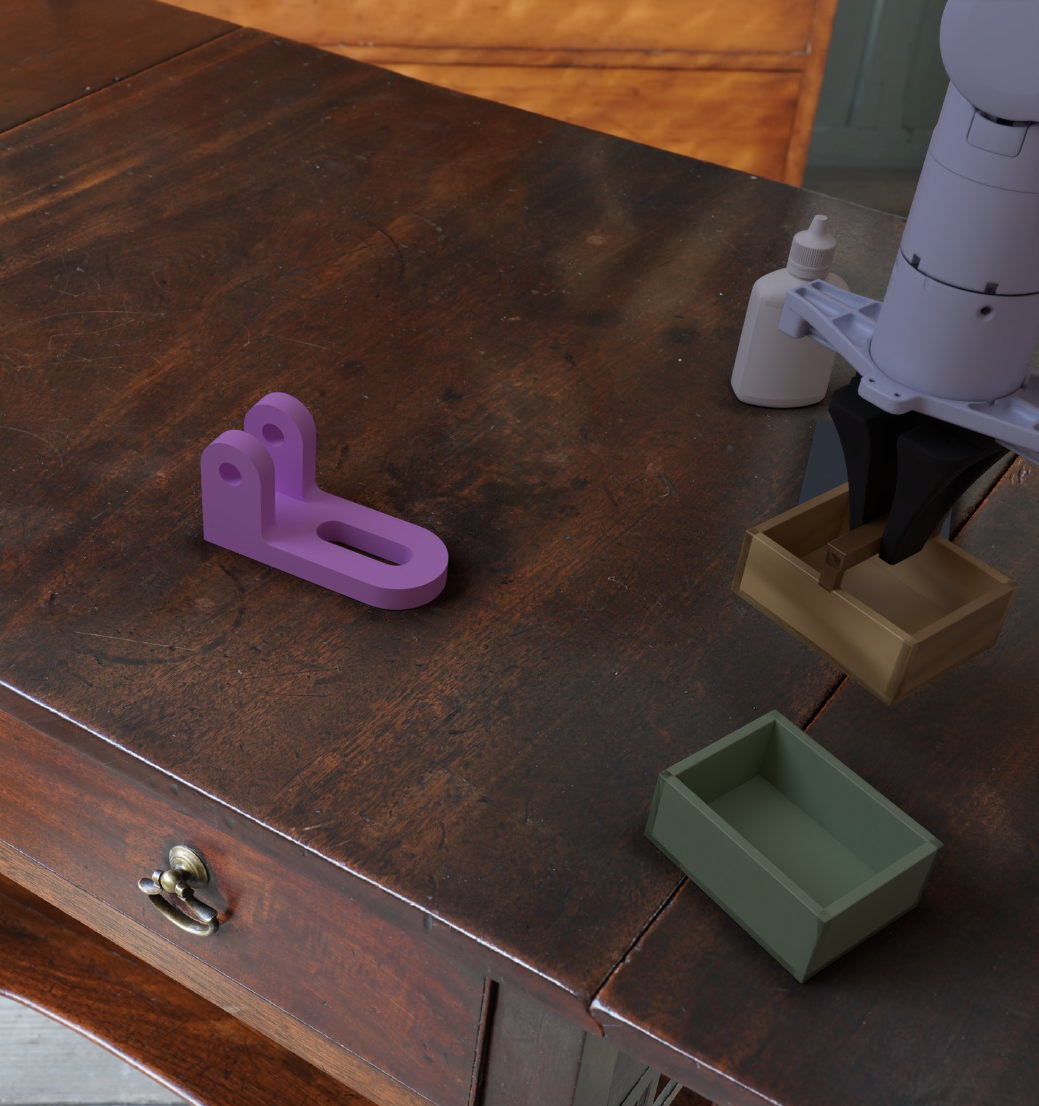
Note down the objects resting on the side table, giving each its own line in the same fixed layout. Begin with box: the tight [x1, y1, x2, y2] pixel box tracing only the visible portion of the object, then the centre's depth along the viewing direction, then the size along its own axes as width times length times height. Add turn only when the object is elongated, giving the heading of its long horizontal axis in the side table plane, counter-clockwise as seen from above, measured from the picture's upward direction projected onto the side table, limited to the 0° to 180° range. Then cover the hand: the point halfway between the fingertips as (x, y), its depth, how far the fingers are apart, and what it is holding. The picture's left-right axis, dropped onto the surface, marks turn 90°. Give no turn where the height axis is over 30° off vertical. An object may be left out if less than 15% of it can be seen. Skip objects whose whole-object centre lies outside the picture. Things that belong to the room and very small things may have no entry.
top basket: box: [731, 482, 1020, 708], centre depth 63 cm, size 9×7×6 cm
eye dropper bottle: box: [730, 214, 851, 409], centre depth 87 cm, size 4×6×12 cm
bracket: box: [200, 391, 449, 611], centre depth 76 cm, size 13×6×7 cm, turn 59°
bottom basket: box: [643, 708, 945, 984], centre depth 61 cm, size 9×7×4 cm
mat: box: [797, 418, 953, 541], centre depth 82 cm, size 14×8×1 cm, turn 158°
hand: (884, 543), depth 63 cm, fingers closed on top basket
